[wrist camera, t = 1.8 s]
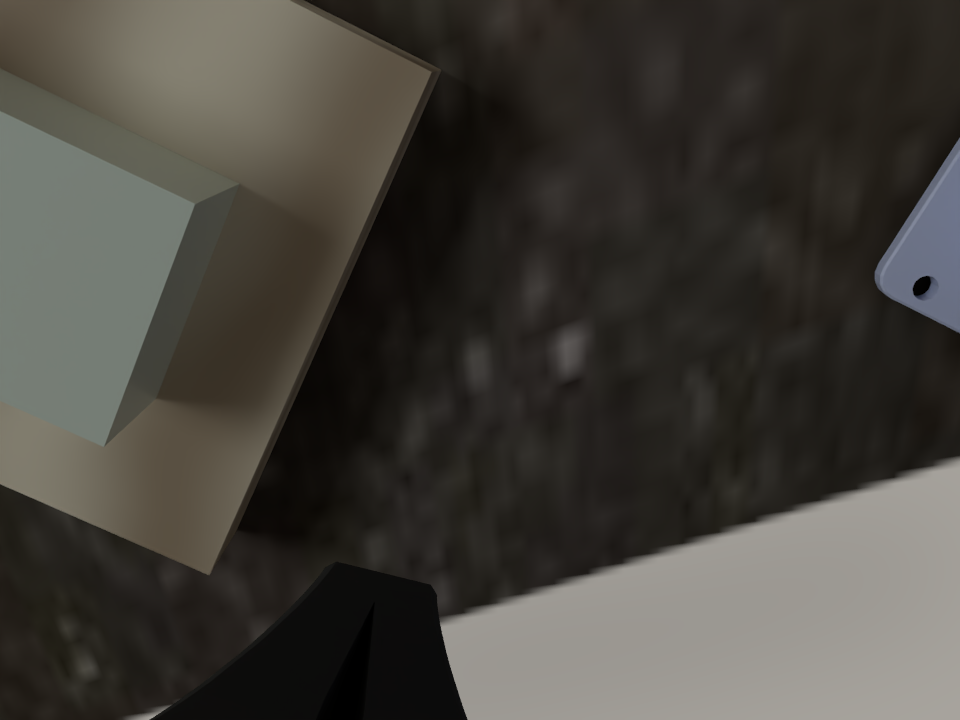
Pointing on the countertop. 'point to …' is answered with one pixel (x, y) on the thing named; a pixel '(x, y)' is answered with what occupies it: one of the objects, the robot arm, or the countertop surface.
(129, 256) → the tile sage
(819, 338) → the countertop surface
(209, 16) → the board
